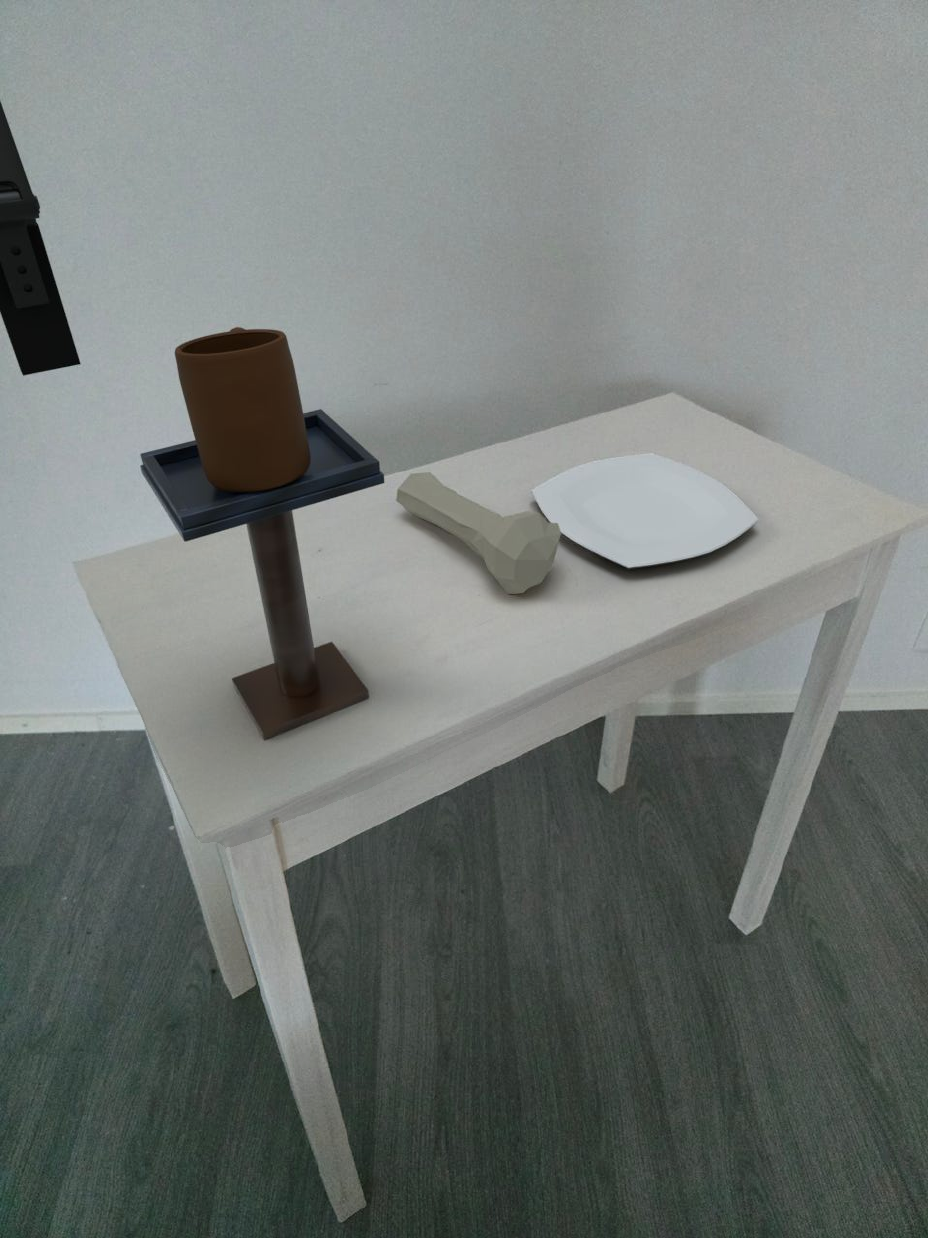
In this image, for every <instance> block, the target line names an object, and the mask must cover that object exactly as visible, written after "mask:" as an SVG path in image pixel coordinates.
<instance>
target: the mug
mask: <svg viewBox="0 0 928 1238" xmlns="http://www.w3.org/2000/svg"><path fill="white" fill-rule="evenodd" d="M174 358H175V362H176V368H177V374H178V379H179V384H180V388H181V391H182V396H183V399H184V403H185V406H186V410H187V414H188V418H189V422H190V426H191V429H192V433H193V436H194V440H196V444H197V447H198V451H199V455H200V459H201V462H202V466H203V469H204V472H205V475H206V478H207V480H208V481H209V482H210V484H211V485H212V486H214V487H215V488H218V489H220V490H223V491H228V492H255V491H262V490H267V489H272V488H275V487H279V486H282V485H285V484H288V483H290V482H292V481H294V480H296V479H298V478H299V477H301V476H302V475H303V474H304V473H305V472H306V471H307V470H308V468H309V466H310V462H311V456H310V449H309V443H308V438H307V433H306V427H305V421H304V415H303V413H304V411H303V410H304V409H303V405H302V400H301V395H300V389H299V384H298V379H297V374H296V368H295V364H294V359H293V356H292V353H291V350H290V345H289V341H288V337H287V335H286V333H285V332H284V331H281V330H278V329H272V328H271V329H270V328H252V329H249V328H248V329H246V328H244V327H240V326H236V327H233V328H231V329H230V330H229V331H223V332H217V333H212V334H209V335H204V336H199V337H197V338H193V339H190V340H188V341H185V342H183V343H181V344H179V345H178V346H176V347H175V350H174Z"/></svg>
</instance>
